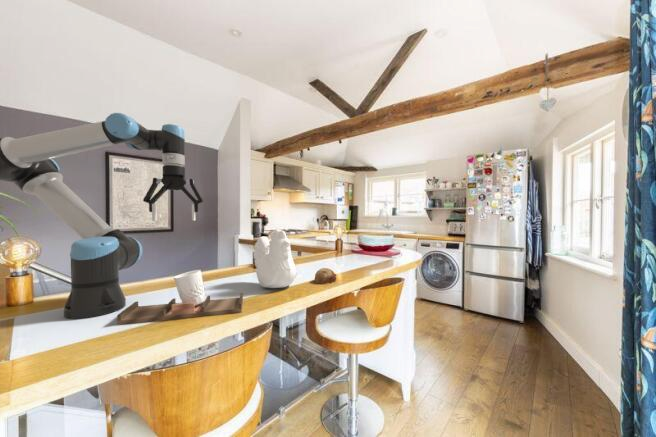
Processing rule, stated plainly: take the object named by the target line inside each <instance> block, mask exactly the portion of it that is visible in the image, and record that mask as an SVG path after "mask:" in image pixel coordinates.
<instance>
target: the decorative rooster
mask: <svg viewBox="0 0 656 437" xmlns="http://www.w3.org/2000/svg"><path fill="white" fill-rule="evenodd" d="M269 238H270V241H269ZM269 238H268V236H260V237H259V238H258V239H257V241H256V242H255V243H254V248H253V250H254V251H253V254H252V255H253V259H254V265H255V268H256V269H255V273H256V276H257V278H256V279H257V280H258V283H259V284H260V286H261V287H262V288H267V289H278V288H279V289H280V288H286V287H288V286H290V285H292V284H293V282H294V281H295V279H296V278H297V276H298V271H297V268H296V265H295V262H294V259H293V256H292V248H291V242H290V239H289V237H287V234H286V232H285V230H281V229H279V228H277V229H275V230H273V231H271V232H270V234H269Z"/></svg>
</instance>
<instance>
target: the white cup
mask: <svg viewBox="0 0 656 437" xmlns="http://www.w3.org/2000/svg"><path fill="white" fill-rule="evenodd" d="M203 280H204V279H203V274H202V270H201V269H195V270H190V271H186V272H184V273H180V274H178V275H175V276H173V281H174V284H175V287H176V289H177V293H178V295H179V298H180V300H181V303H182V304H185V303H195V305H198V304H200V303H202V302H204V301H205V300H206V298H207V296H206V293H205V287H204V281H203Z"/></svg>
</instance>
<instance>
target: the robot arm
mask: <svg viewBox="0 0 656 437" xmlns="http://www.w3.org/2000/svg"><path fill="white" fill-rule="evenodd" d="M123 143H124V144H125V145H126V147H127V148H128V149H131V150H138V151H162V152H161V153H162V157H161V158H162V165H163V166H162V178H157V177H153V178H152V184H151V185H150V187H149V188H148V190H147V192H146V193H145V195H144V197H143V199H142V201H143V202H144V203H147V204H148V211H149V213H151V222H157V221H158V209H157V208H158V207H157V203H156V202H157V201H158V200H159V199H160V198H161V197H162V196H163V195H164V194H165V193H166V192H167V191H168V190H170V191H180V190H181V191H182V192H183V193H184V194H185V195H186V196H187V197H188V199H190V201H191V202H192V203H191V221H193V222H194V221H196V213H199V204H202V203H203V202H204V200H203V198H202V196H201V194H200V192H199V191H198V188H197V187H196V185H195V180H194V179H193V178H190V179H186V168H185V166H186V160H185V159H186V154H185V147H186V146H185V145H186V144H185V143H186V139H185V129H184V128H183V127H181V126H180V125H177V124H173V123H167V124H166V123H165V124H163V125H162V126H161V129H159V130H158V129H157V130H156V129H148V128H145V127H144V126H143V125H142V124H140V123H138V122H137V121H136V120H135V119H134V118H132V117H131V116H128V115H126V114H124V113H121V112H113V113H111V114H109V115H108V116H107V117H106V118H105V120H102V121H97V122H93V123H88V124H83V125H79V126H73V127H68V128H63V129H58V130H54V131H49V132H48V131H47V132H44V133H39V134H35V135H29V136H25V137H19V138H14V137H11V136H5V137H1V138H0V181H1V182H2V181H3V182H4V181H5V182H11V183H12V184H14V185H15V186H17V187H18V188H19V189H20V190H21V191H22V192H23V193H25V194H27V195H33V196H35V197H36V198H37V199H39V200H40V201H41V202H42V203H43V204H44V205H45V206H46V207H47V208H49V209H50V210H51V211H52V212H53V213H54V215H56V216H57V217H58V218H60V220H62V221H63V222H64V223H65V224H66V225H67V226H68V227H69V228H70V229H72V230H73V232H75V233H76V234H77V235H78V236H79V237H80V238H82V239H79V240H78V239H77V240H76V241H74V242H73V243H72V244H71V247H70V252H69V257H70V279H71V280H70V283H71V284H70V285H71V287H70V288H71V290H70V293H69V295H68V297H67V300H66V302H65V305H64V307H63V317H64V318H65V319H86V318H93V317H99V316H103V315H107V314H110V313H114V312H116V311H119V310H121V309H123V308H125V307H126V305H127V304H126V301H127V300H126V297H125V294H124V292H123V290H122V287H121V285H120V276H119V275H120V271H122V270H126V269H129V268H131V267H132V266H134V265H135V264H137V263H138V262H139V261H140V259H141V258H142V256H143V246H142V244H141V242H140V241H139V240H138V239H136V238H135V237H130V236H127V235H126V234H125V233H124V232H123V231H122V230H121V229H119V228H112V227H111V226H110V225H109V224H108V223H107V222H106V221H105V220H103V218H101V216H99V215H98V214H97V213H96V212H95V211H94V210H93V208H91V207H89V205H88V204H86V203H85V202H84V201H83V200H82V198H80V197H79V196H78V195H77V194H76V193H75V192H74V191H73V190H72V189H71V188H70V187H68V185H66V184H65V183H64V182H63V179H64V176H63V174H62V173H61V172H60V171H61V168H60V166H59V165H58V163H57V162H56V161H55V160H54V159H56V158H60V157H65V156H68V155H69V156H70V155H74V154H79V153H83V152H87V151H92V150H96V149H101V148H105V147H110V146H114V145H118V144H123ZM160 184H162V185H163V186H162V187H160V189H159V190H158V191H157V192H156V190H157V188H158V186H159V185H160ZM186 184H187V185H189V186H190V188H191V189H192V191H193V193H194V195H195V197H196V198H195V197H194V196H193V195H192V193H191V192H190V191H189V190H188V189H187V188H186V187H185V185H186ZM155 192H156V193H155Z"/></svg>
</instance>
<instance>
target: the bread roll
mask: <svg viewBox="0 0 656 437" xmlns="http://www.w3.org/2000/svg"><path fill="white" fill-rule="evenodd" d="M336 281H337V274H336V273H335V272H334V270H332V269H330V268H327V267H323V268H320V269H318V270H317V271H316V273H315V275H314V280H313V282H315V283H317V284H319V283H329V284H333V283H332V282H334V283H335V282H336Z"/></svg>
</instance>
